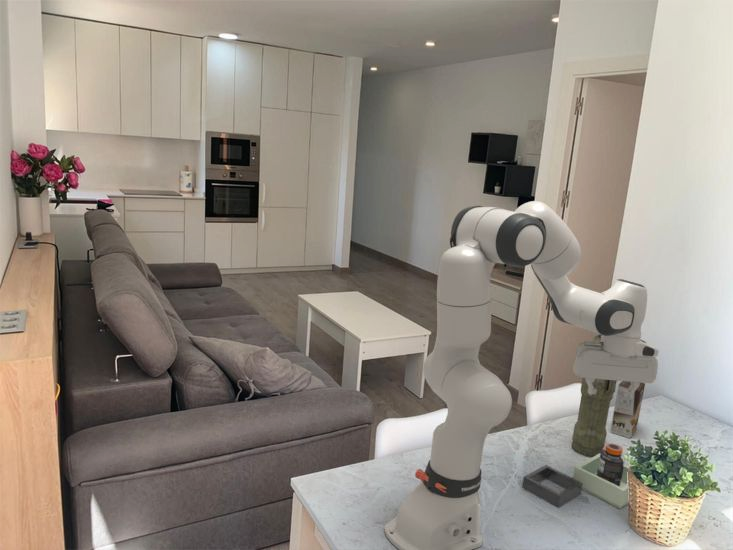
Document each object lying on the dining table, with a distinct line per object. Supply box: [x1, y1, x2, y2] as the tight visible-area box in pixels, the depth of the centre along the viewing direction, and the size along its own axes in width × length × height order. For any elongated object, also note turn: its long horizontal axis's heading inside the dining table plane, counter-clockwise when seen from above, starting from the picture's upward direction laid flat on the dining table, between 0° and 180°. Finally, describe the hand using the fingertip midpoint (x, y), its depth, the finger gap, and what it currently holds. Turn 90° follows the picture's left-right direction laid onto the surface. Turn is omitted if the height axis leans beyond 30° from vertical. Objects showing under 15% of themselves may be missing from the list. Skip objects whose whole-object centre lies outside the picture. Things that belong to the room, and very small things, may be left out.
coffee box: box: [609, 381, 646, 439], centre depth 184 cm, size 9×6×16 cm
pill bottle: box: [597, 443, 626, 487], centre depth 149 cm, size 6×6×11 cm
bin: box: [572, 453, 630, 510], centre depth 150 cm, size 13×13×5 cm
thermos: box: [571, 334, 618, 458], centre depth 167 cm, size 9×12×35 cm
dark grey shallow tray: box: [521, 464, 583, 508], centre depth 147 cm, size 10×10×3 cm
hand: (609, 395), depth 146 cm, fingers open, 8 cm apart
